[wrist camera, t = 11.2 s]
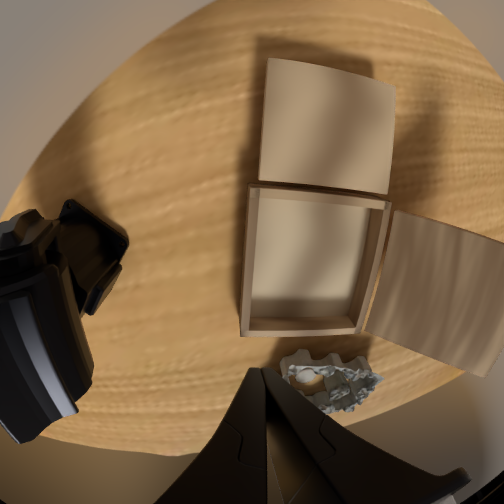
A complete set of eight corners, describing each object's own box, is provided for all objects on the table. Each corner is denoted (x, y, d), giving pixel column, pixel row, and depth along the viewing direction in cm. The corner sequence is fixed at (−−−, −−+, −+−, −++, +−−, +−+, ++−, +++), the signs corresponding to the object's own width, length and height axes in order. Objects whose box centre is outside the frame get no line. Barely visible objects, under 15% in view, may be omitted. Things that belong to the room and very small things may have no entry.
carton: (239, 318, 23) (240, 336, 20) (256, 67, 16) (260, 56, 14) (349, 317, 24) (360, 333, 21) (384, 93, 17) (401, 88, 15)
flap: (364, 330, 21) (485, 378, 13) (394, 210, 17) (539, 259, 10) (369, 324, 22) (485, 370, 14) (397, 209, 18) (535, 255, 11)
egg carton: (259, 390, 27) (263, 419, 23) (289, 338, 24) (298, 368, 20) (341, 400, 28) (351, 425, 25) (376, 355, 26) (391, 380, 22)
